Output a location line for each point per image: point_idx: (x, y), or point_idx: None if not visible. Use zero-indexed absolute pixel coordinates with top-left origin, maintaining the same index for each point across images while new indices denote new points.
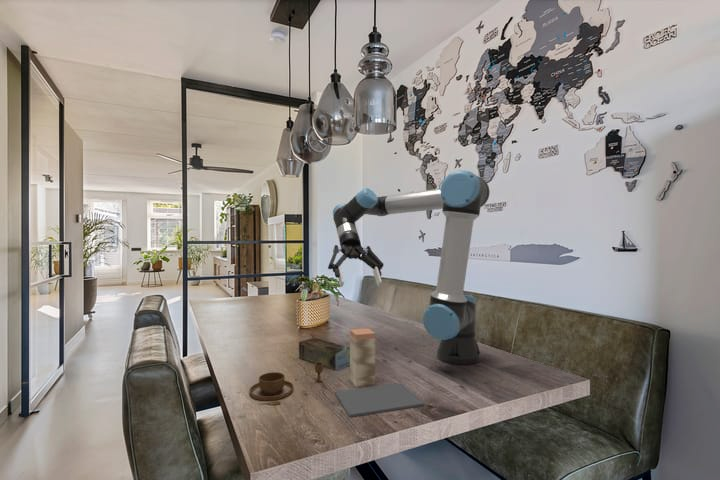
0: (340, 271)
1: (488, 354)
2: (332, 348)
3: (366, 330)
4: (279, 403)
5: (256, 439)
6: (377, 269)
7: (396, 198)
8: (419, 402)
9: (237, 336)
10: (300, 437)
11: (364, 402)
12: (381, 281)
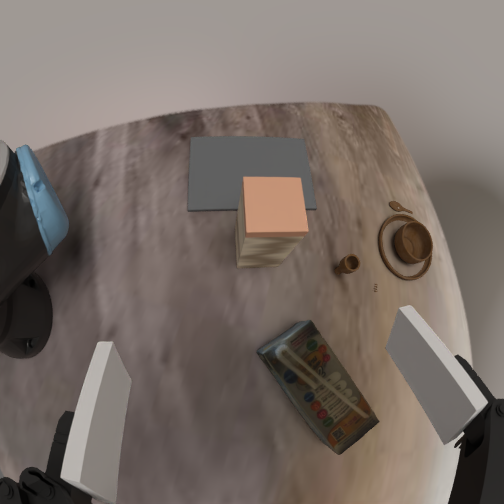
0: (457, 368)
1: None
2: (311, 364)
3: (260, 210)
4: (390, 202)
5: (394, 140)
6: (72, 448)
7: None
8: (195, 140)
9: None
10: (356, 127)
11: (276, 160)
12: (100, 344)
